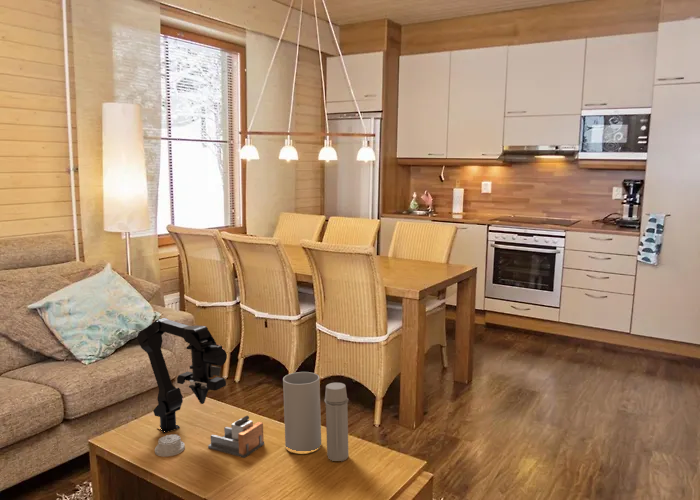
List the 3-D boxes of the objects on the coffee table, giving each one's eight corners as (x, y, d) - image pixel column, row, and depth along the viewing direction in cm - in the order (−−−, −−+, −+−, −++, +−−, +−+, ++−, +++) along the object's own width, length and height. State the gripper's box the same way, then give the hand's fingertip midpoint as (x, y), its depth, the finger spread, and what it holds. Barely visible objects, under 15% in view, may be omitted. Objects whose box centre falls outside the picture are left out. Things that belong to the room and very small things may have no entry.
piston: (231, 446, 194) (230, 420, 193) (242, 439, 200) (241, 414, 199) (243, 449, 192) (242, 423, 191) (254, 442, 197) (253, 416, 196)
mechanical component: (149, 456, 192) (175, 458, 190) (148, 443, 192) (174, 446, 189) (164, 442, 202) (190, 445, 200) (164, 431, 201) (189, 433, 199)
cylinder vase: (328, 443, 198) (326, 375, 195) (307, 458, 187) (305, 386, 184) (299, 436, 204) (297, 369, 201) (278, 450, 194) (275, 380, 191)
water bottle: (326, 452, 191) (324, 382, 188) (349, 452, 191) (347, 381, 188) (325, 466, 182) (323, 392, 179) (349, 465, 182) (348, 391, 179)
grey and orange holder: (208, 448, 196) (207, 426, 196) (229, 435, 206) (228, 414, 205) (244, 457, 189) (243, 435, 188) (264, 444, 198) (263, 422, 198)
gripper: (235, 358, 204) (237, 400, 206) (196, 352, 213) (199, 392, 215) (213, 367, 194) (216, 411, 196) (174, 360, 203) (177, 402, 205)
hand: (202, 403), depth 203 cm, fingers closed
